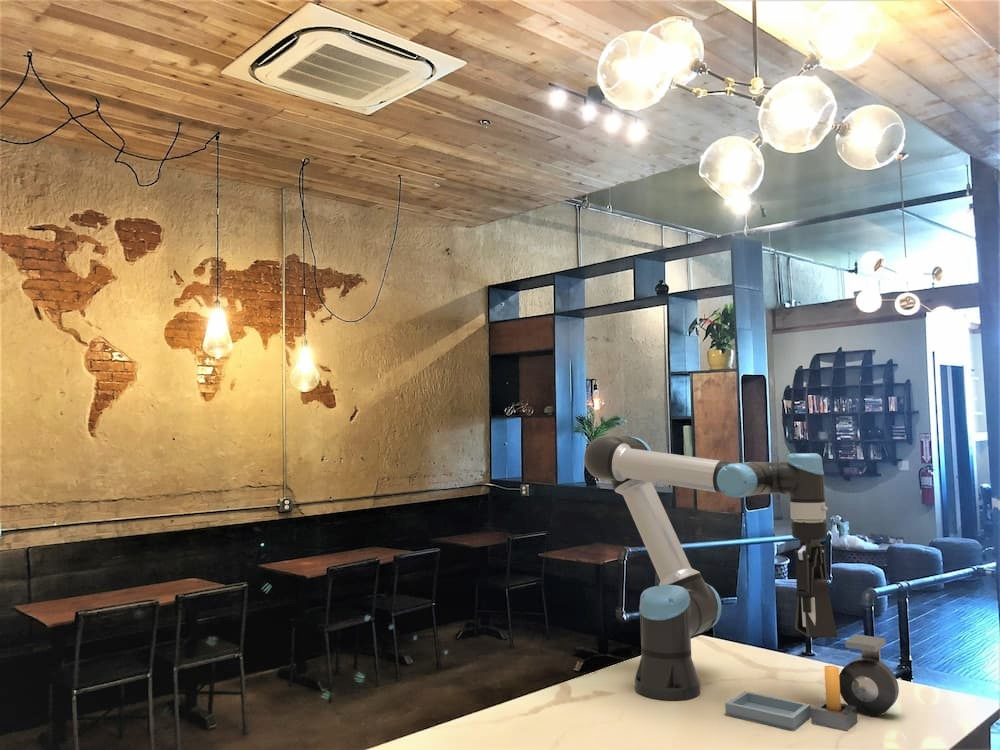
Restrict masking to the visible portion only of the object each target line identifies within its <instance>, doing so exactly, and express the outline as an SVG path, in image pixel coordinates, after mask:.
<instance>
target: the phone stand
mask: <svg viewBox="0 0 1000 750" xmlns="http://www.w3.org/2000/svg"><path fill="white" fill-rule="evenodd" d="M827 580H828V578H827V579H825V578H813V598H815V613H816V621H815V625H814V623H813V621H812V620H811V618H810V616H809V615H808V613H806V612H805V616H806V627H803V621H802V604H801V597H797V596H796V608H795V609H796V610H795V617H794V619H795V620H794V629H795V630H796V631H798V632H799V633H801V634H803V635H805V636H806V637H808V638H812V639H813V638H816V639H817V638H818V639H819V638H837V637H838V633H837V629H836V623H835V618H834V613H833V607H832V603H831V597H830V588H829V581H827Z"/></svg>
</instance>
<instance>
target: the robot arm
mask: <svg viewBox="0 0 1000 750" xmlns="http://www.w3.org/2000/svg"><path fill="white" fill-rule="evenodd" d="M583 456H584V457H583V461H584V465H585V468H586V469H587V471H588V473H589V474H590V475H591V476H593V477H594V478H595V479H598V480H601V481H610V483H611V485H612V487H613V490H614V492H615V493H617V494H620V495H621V496H623V498H624V501H625V503H626V505H627V508H628V510H629V512H630V514H631V517H632V520H633V521H634V524H635V526H636V528H637V530H638V532H639V535H640V537H641V540H642V542H643V544H644V546H645V549H646V551H647V554H648V556H649V558H650V560H651V563H652V564H653V567H654V569H655V571H656V573H657V577H658V578H659V584H658V585H656V586H651V587H648V588H646V589H644V590H643V591H642V593H641V594H640V599H639V607H638V608H639V618H640V619H639V621H640V644H641V656H640V660H639V663H638V667H637V670H636V673H635V677H634V690H635V691H636V692H637V693H639V694H640V695H642V696H645V697H648V698H651V699H656V700H664V701H682V700H690V699H693V698H696V697H698V696H699V695H701V682H700V681H701V680H700V679H699V676H698V673H697V670H696V667H695V664H694V662H693V661H694V660H693V659H692V658H693V657H692V640H691V639H692V637H694V636H696V635H698V634H703V633H705V632H708V631H709V630H710V629H711V628H713V627H714V626H715V625H716V624H718V622H719V620H720V617H721V614H722V611H723V610H722V601H721V598H720V595H719V593H718V592H717V591H716V589H715V587H713V586H712V585H710V584H708V583H707V582H705V580H704V579H703V576H702V574H701V571H698V570H696V569H694V568H692V566H691V564H690V562H689V559H688V557H687V555H686V553H685V551H684V549H683V547H682V544H681V542H680V540H679V538H678V535H677V533H676V531H675V529H674V527H673V525H672V523H671V521H670V518H669V517H668V514H667V511H666V509H665V508H664V505H663V503H662V501H661V499H660V497H659V494H658V492H657V490H656V488H655V486H654V484H653V483H655V484H662V485H667V486H672V487H673V486H675V487H680V488H688V489H693V490H698V491H699V490H700V491H707V492H711V493H719V494H723V495H725V496H727V497H729V498H734V499H742V498H746V497H751V496H758V495H789V505H790V506H789V507H790V509H789V510H790V511H789V512H790V519H791V520H793V521H791V537H793V538H794V539H798V540H799V547H798V549H794V559H795V573H796V574H795V575H796V576H795V579H796V598H797V597H801V604H802V621H803V627H806V616H805V612H806V613H808V615H809V616H810V618H811V620H812V621H813V623H814V625H815V621H816V613H815V598H813V578H825V579H827V581H828V572H827V561H826V560H827V559H826V549H827V548H826V547H827V546H826V544H821V541H820V540H825V539H827V538H828V526H827V523H826V521H824V520H826V519H827V515H826V513H827V511H828V510H829V508H828V506H826V496H825V476H824V475H825V472H824V467H823V458H822V456H821V455H820V454H819V453H816V452H814V453H810V452H809V453H790V454H788V456H787V460H786V461H780V462H778V461H774V462H773V461H748V462H735V461H727V460H720V459H719V460H718V459H711V458H704V457H698V456H697V457H696V456H689V455H684V454H683V455H682V454H681V455H680V454H675V453H668V452H661V451H660V452H659V451H652V449H651V448H650V446H649V444H647V443H646V442H645V441H644V440H642V439H640V438H638V437H635V436H631V435H630V436H629V435H622V436H607V435H604V436H599V437H597V438H595V439H593V440H592V441H590V443H589V444H588V445H587V446H586V448H585V450H584V455H583ZM828 582H829V581H828Z"/></svg>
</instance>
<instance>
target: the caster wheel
mask: <svg viewBox="0 0 1000 750" xmlns="http://www.w3.org/2000/svg"><path fill="white" fill-rule="evenodd" d="M886 644H887V642H886V637H885V638H884V637H877V636H871V635H864V634H855V635H853V636H851V637H850V638H848V639H847V640H845V641H844V646H845V648H847V649H848V648H849V649H856V650H860V651H861V652H860V653H861V657H858V658H855V659H854V660H852V661H851V662H849V663H848V664H847V665H845V666H844V667H843V668H842V669H841V671H839V679H840V697H842V698H841V699H843V700H844V702H845V704H847V705H852V706H857V714H858V713H859V714H860V715H863V716H868V717H879V716H881V715H883V714H885V713H886V712H887V711H888V710H889V709H890V708H891V707H892V706H894V704H895V703H896V701H897V700H898V698H899V694H900V693H899V692H900V690H899V689H900V688H899V687H900V686H899V683H898V680H897V678H896V676H895V674H894V672H893V671H892V670H891V668H889V667H888V666H887V664H885V663H884V662H882V656H881V655H882V654H881V648H883V647H885V645H886Z"/></svg>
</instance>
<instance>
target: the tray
mask: <svg viewBox="0 0 1000 750" xmlns="http://www.w3.org/2000/svg"><path fill="white" fill-rule="evenodd" d="M724 707H725V716H727V717H732V718H736V719H740V720H744V721H749V722H752V723H757V724H762V725H767V726H770V727H774V728H779V729H783V730H787V731H792V732H794V731H795V730H797V729H798V728H799V727H800V726H802V725H803V724H804V723H806V722H807V721H808V720H809V719H811V708H812V705H811V704H809V703H804V702H801V701H799V702H798V701H795V700H790V699H786V698H780V697H776V696H770V695H765V694H761V693H756V692H751V691H748V690H747V691H746V690H745V691H743V692H741V693H740V694H738V695H736V696H735V697H733V698H731V699H730V700H728V701H726V702H725V704H724Z"/></svg>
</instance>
